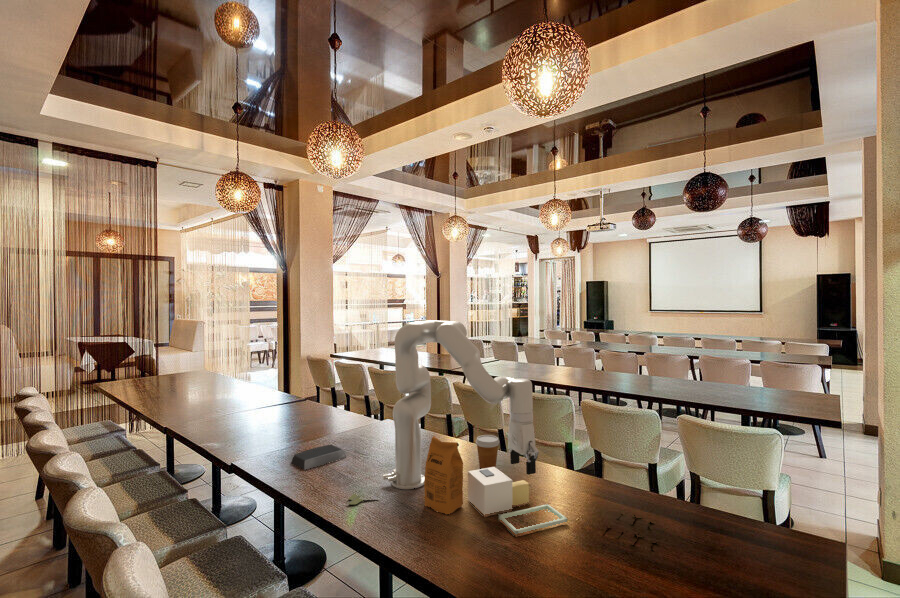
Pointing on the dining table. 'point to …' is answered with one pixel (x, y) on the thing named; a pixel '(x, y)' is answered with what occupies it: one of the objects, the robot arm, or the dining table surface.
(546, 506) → the tray
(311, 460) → the dark grey ingot block
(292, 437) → the dining table surface
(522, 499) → the pale yellow paper bar
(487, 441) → the disposable coffee cup
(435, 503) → the coffee package
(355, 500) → the green leaf
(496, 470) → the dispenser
